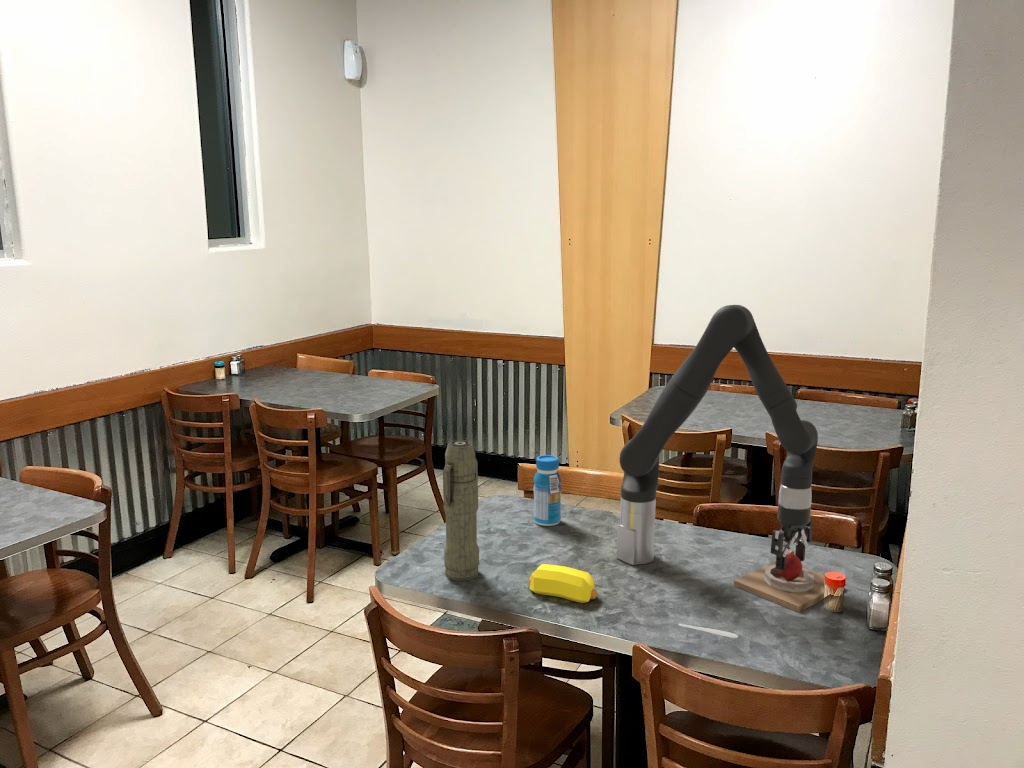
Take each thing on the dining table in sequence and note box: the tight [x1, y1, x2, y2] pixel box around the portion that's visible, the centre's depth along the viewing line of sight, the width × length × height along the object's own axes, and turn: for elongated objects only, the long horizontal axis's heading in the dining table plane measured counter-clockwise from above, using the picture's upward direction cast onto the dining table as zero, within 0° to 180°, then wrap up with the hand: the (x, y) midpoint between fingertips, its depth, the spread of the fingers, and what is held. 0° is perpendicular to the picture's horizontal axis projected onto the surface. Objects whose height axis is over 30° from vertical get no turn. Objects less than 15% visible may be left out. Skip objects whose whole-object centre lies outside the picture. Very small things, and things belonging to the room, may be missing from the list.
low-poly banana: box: [528, 563, 598, 604], centre depth 199 cm, size 18×7×8 cm
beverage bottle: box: [532, 454, 562, 527], centre depth 244 cm, size 8×8×20 cm
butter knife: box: [678, 623, 739, 639], centre depth 184 cm, size 1×27×3 cm
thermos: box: [442, 439, 480, 582], centre depth 207 cm, size 9×12×35 cm
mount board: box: [733, 560, 825, 614], centre depth 203 cm, size 20×18×4 cm
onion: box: [778, 549, 803, 581], centre depth 202 cm, size 6×6×8 cm
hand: (790, 564), depth 202 cm, fingers open, 8 cm apart
